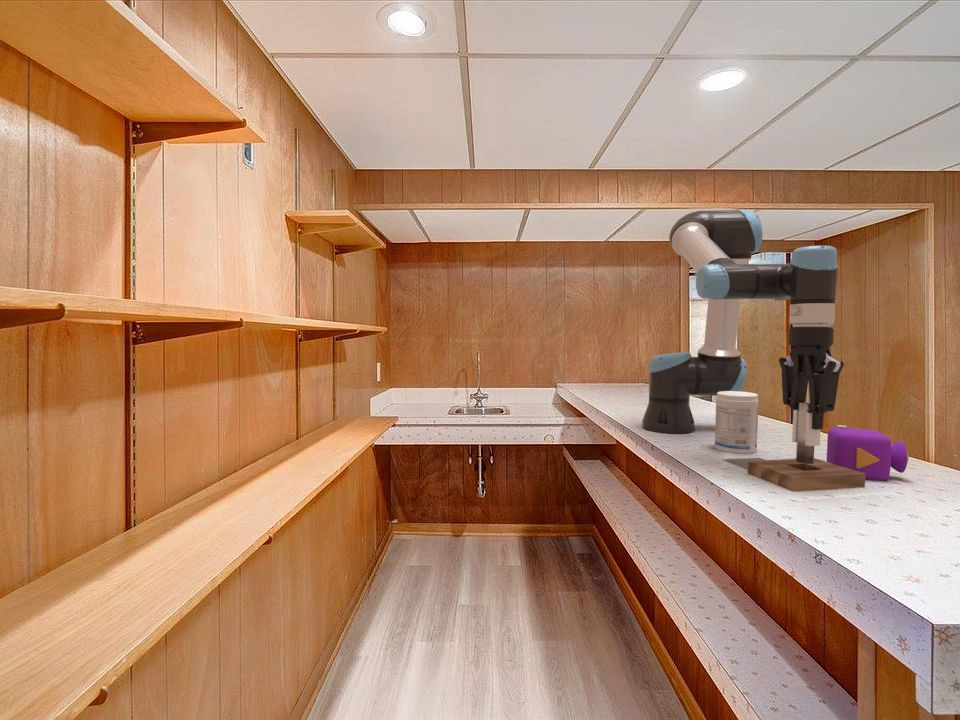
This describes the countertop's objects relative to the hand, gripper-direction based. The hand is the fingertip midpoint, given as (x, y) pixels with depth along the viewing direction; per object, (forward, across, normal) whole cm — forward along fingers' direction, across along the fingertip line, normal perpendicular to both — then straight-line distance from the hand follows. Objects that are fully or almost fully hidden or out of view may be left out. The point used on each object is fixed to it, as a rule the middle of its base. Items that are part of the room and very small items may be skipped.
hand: (805, 443), depth 101 cm
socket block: (+8, 0, 0) cm, 8 cm away
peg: (+4, 0, 0) cm, 4 cm away
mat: (+8, -11, -1) cm, 14 cm away
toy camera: (+8, -1, +16) cm, 18 cm away
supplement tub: (+8, -26, +4) cm, 27 cm away
